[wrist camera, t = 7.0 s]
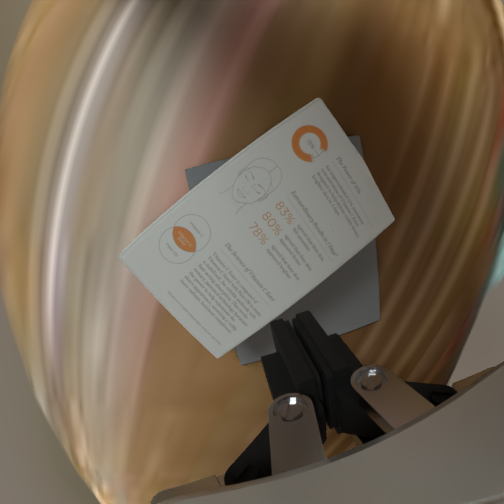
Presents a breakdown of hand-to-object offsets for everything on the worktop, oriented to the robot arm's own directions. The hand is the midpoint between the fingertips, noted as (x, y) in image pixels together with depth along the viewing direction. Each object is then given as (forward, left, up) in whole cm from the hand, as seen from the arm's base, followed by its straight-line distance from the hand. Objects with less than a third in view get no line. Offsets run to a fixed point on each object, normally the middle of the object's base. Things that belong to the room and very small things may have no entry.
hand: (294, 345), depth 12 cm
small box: (-1, -6, -7) cm, 9 cm away
